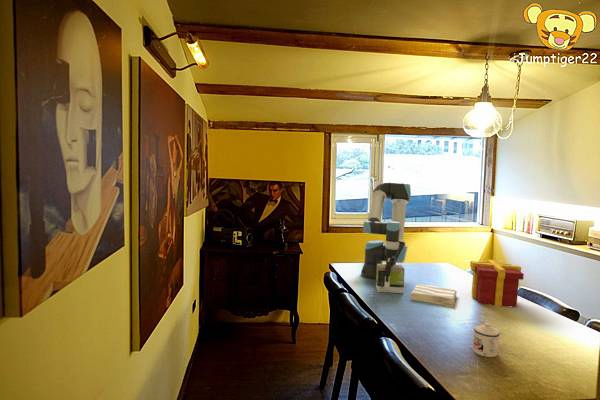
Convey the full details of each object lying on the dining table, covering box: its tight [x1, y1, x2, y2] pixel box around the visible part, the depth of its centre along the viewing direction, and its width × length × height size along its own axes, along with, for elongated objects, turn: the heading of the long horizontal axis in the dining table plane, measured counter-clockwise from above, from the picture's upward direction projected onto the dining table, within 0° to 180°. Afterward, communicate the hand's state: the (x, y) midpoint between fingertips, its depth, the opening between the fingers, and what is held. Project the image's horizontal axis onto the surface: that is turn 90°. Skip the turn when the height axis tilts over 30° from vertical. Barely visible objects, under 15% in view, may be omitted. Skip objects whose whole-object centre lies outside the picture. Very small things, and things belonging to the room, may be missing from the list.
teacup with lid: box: [472, 322, 500, 358], centre depth 156 cm, size 12×9×12 cm
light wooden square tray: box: [410, 283, 457, 307], centre depth 224 cm, size 20×22×4 cm
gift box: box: [469, 259, 524, 308], centre depth 225 cm, size 25×25×20 cm
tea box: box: [375, 263, 405, 294], centre depth 234 cm, size 15×10×15 cm, turn 84°
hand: (389, 284), depth 235 cm, fingers open, 13 cm apart
